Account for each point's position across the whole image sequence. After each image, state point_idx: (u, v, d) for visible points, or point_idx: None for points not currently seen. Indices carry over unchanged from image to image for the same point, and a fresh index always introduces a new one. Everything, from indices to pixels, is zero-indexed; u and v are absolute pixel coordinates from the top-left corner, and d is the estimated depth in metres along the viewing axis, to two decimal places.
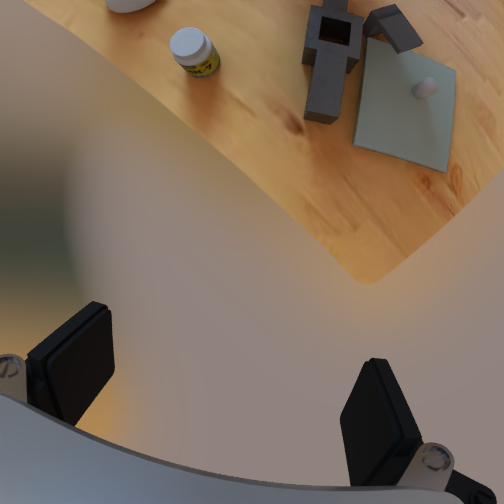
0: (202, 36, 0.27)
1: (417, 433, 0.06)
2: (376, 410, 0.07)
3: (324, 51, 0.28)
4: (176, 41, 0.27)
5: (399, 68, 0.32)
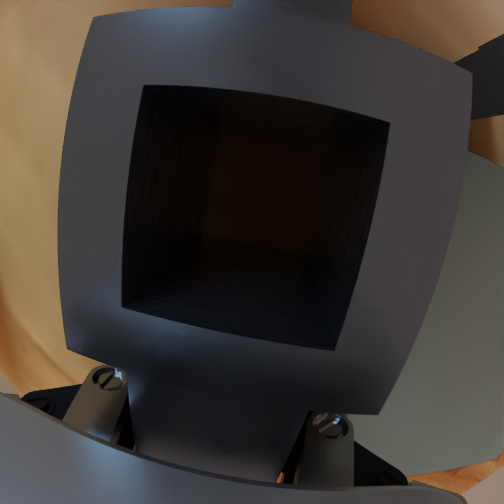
0: None
1: None
2: None
3: (169, 379, 0.05)
4: None
5: None
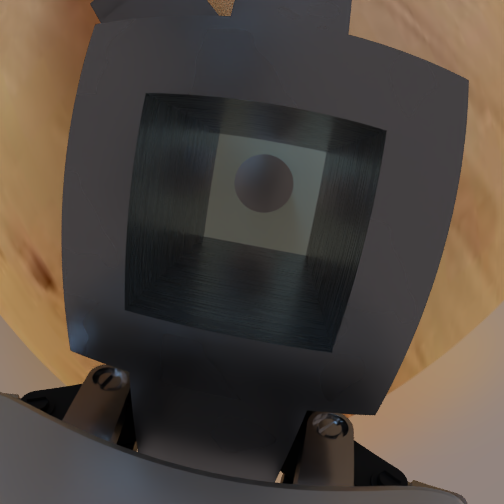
0: None
1: None
2: None
3: (171, 380, 0.05)
4: None
5: None
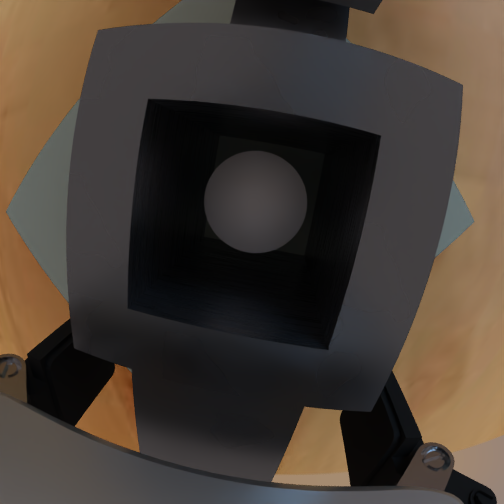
0: None
1: (417, 433, 0.06)
2: (376, 410, 0.07)
3: (172, 376, 0.06)
4: None
5: None
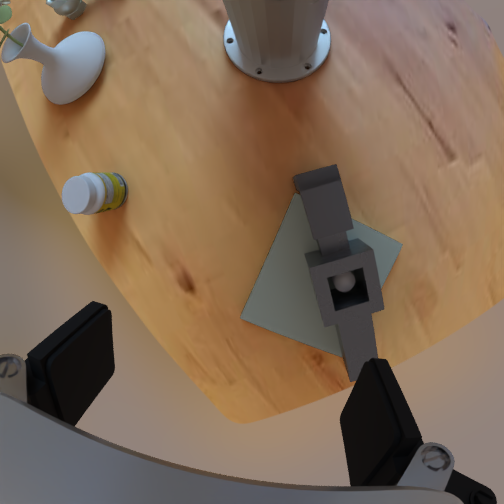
0: (88, 194, 0.27)
1: (417, 433, 0.06)
2: (376, 410, 0.07)
3: (346, 320, 0.29)
4: (67, 192, 0.28)
5: None
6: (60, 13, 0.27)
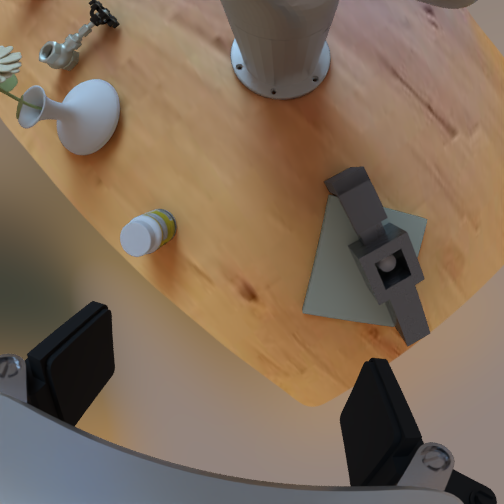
0: (149, 236, 0.32)
1: (417, 433, 0.06)
2: (376, 410, 0.07)
3: (395, 295, 0.33)
4: (126, 238, 0.33)
5: None
6: (56, 67, 0.32)
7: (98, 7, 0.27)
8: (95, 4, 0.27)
